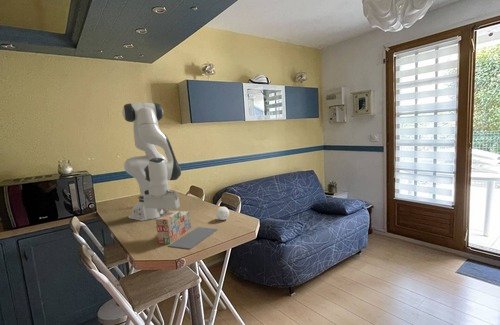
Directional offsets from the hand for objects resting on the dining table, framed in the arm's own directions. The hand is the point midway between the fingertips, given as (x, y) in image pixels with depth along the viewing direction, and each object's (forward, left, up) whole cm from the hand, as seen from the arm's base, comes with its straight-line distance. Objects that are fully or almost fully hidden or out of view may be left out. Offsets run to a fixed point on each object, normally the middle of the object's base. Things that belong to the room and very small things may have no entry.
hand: (163, 216), depth 136 cm
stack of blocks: (+6, +1, -10) cm, 12 cm away
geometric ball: (+19, +27, -10) cm, 34 cm away
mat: (+18, 0, -9) cm, 20 cm away
